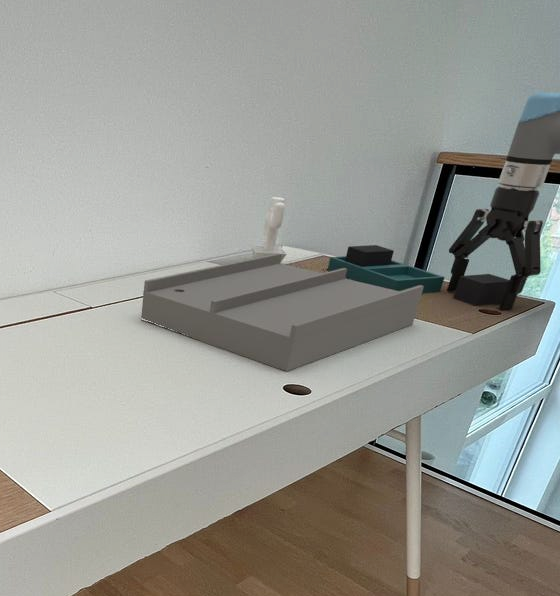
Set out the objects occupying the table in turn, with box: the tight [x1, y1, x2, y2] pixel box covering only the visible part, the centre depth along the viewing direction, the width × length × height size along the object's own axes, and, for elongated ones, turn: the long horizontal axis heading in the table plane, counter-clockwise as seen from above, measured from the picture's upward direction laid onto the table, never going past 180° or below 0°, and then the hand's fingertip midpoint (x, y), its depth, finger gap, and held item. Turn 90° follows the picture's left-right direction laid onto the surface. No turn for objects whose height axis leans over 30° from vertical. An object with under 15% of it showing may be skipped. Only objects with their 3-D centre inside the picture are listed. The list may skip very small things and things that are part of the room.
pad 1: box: [345, 244, 395, 267], centre depth 155 cm, size 6×8×4 cm
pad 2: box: [452, 273, 510, 307], centre depth 139 cm, size 6×8×4 cm
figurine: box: [250, 196, 287, 264], centre depth 157 cm, size 7×9×15 cm
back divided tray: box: [327, 255, 445, 294], centre depth 152 cm, size 22×13×3 cm, turn 20°
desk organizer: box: [140, 253, 424, 372], centre depth 122 cm, size 32×40×7 cm
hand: (477, 299), depth 141 cm, fingers open, 13 cm apart
